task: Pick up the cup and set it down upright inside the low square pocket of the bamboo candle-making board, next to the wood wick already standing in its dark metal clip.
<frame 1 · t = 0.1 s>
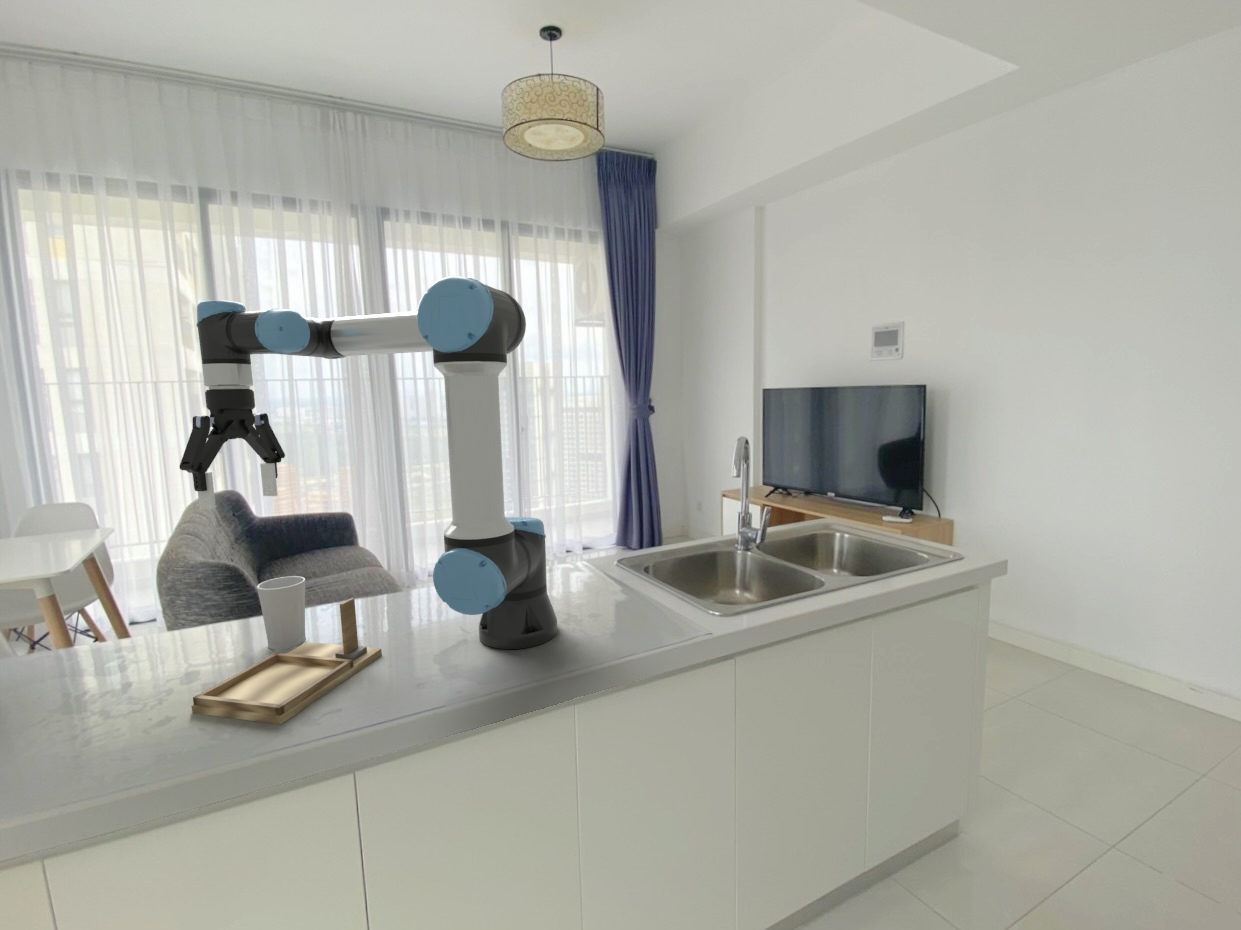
hand: (241, 502, 109), 28 cm above the worktop, fingers open, 13 cm apart
board: (296, 681, 97), on the worktop
cup: (287, 643, 112), on the worktop
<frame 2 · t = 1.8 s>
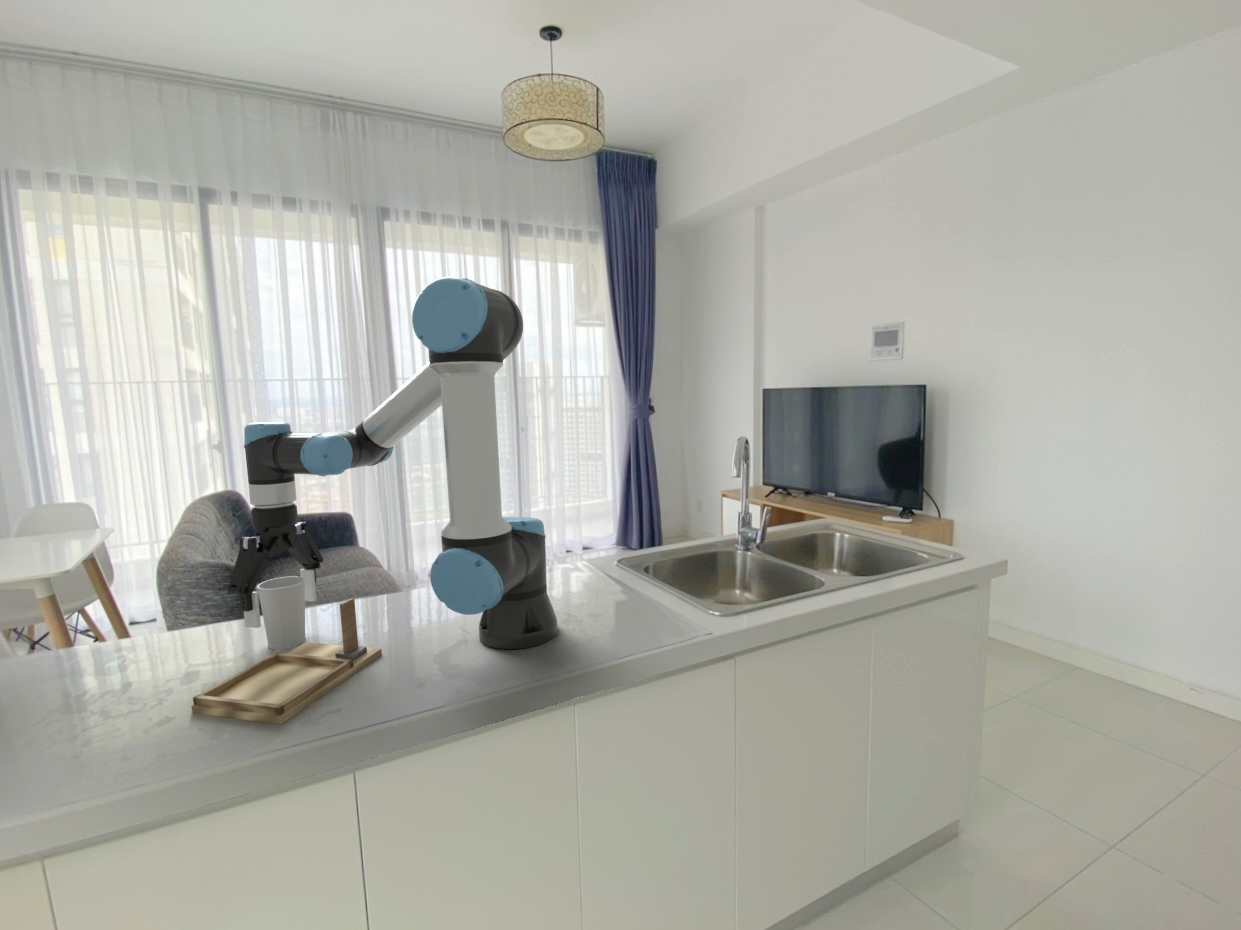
hand: (282, 613, 112), 6 cm above the worktop, fingers open, 13 cm apart
nothing on the worktop moved.
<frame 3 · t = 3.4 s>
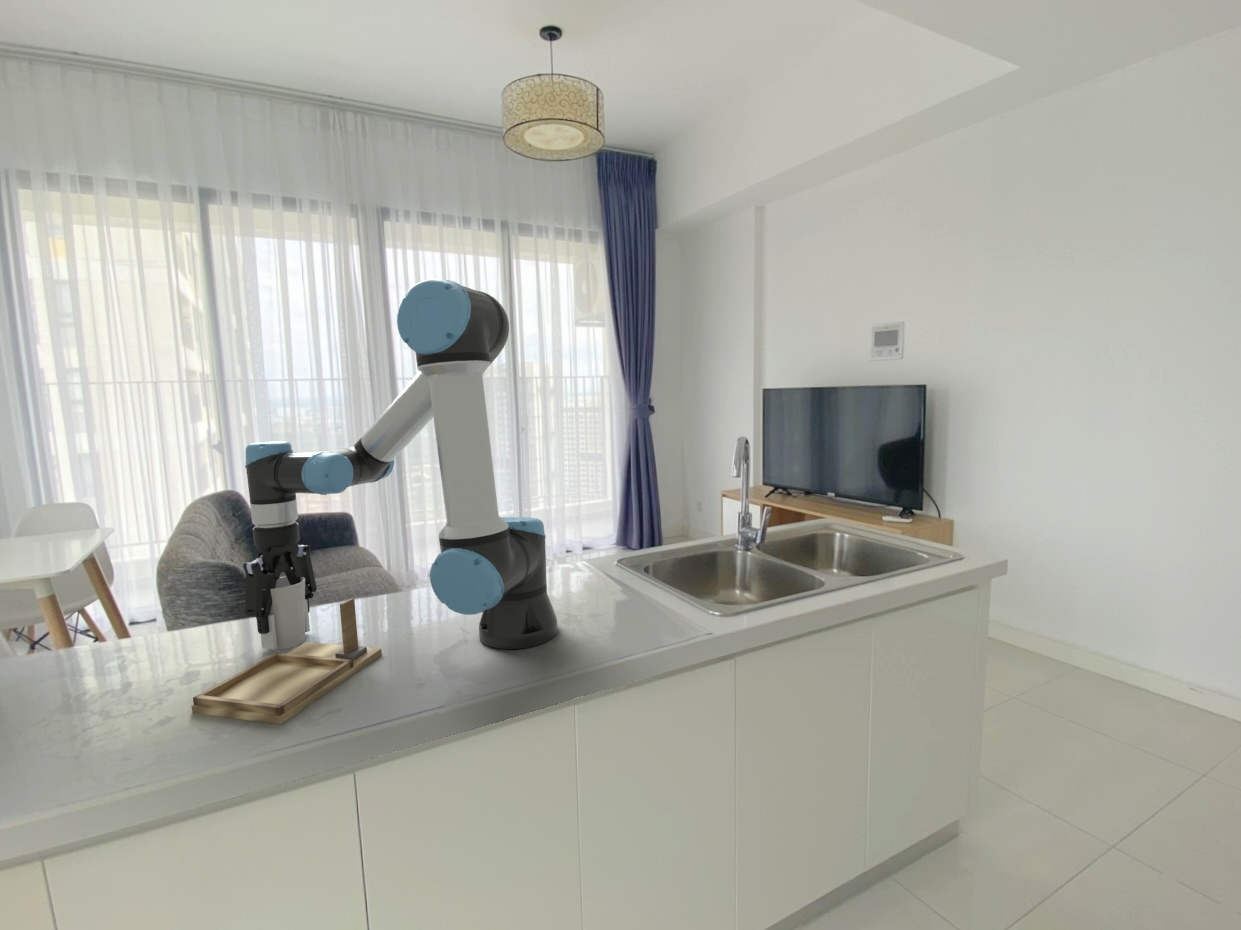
hand: (286, 639, 112), 1 cm above the worktop, fingers closed on cup, 7 cm apart
cup: (287, 643, 112), on the worktop, touching gripper
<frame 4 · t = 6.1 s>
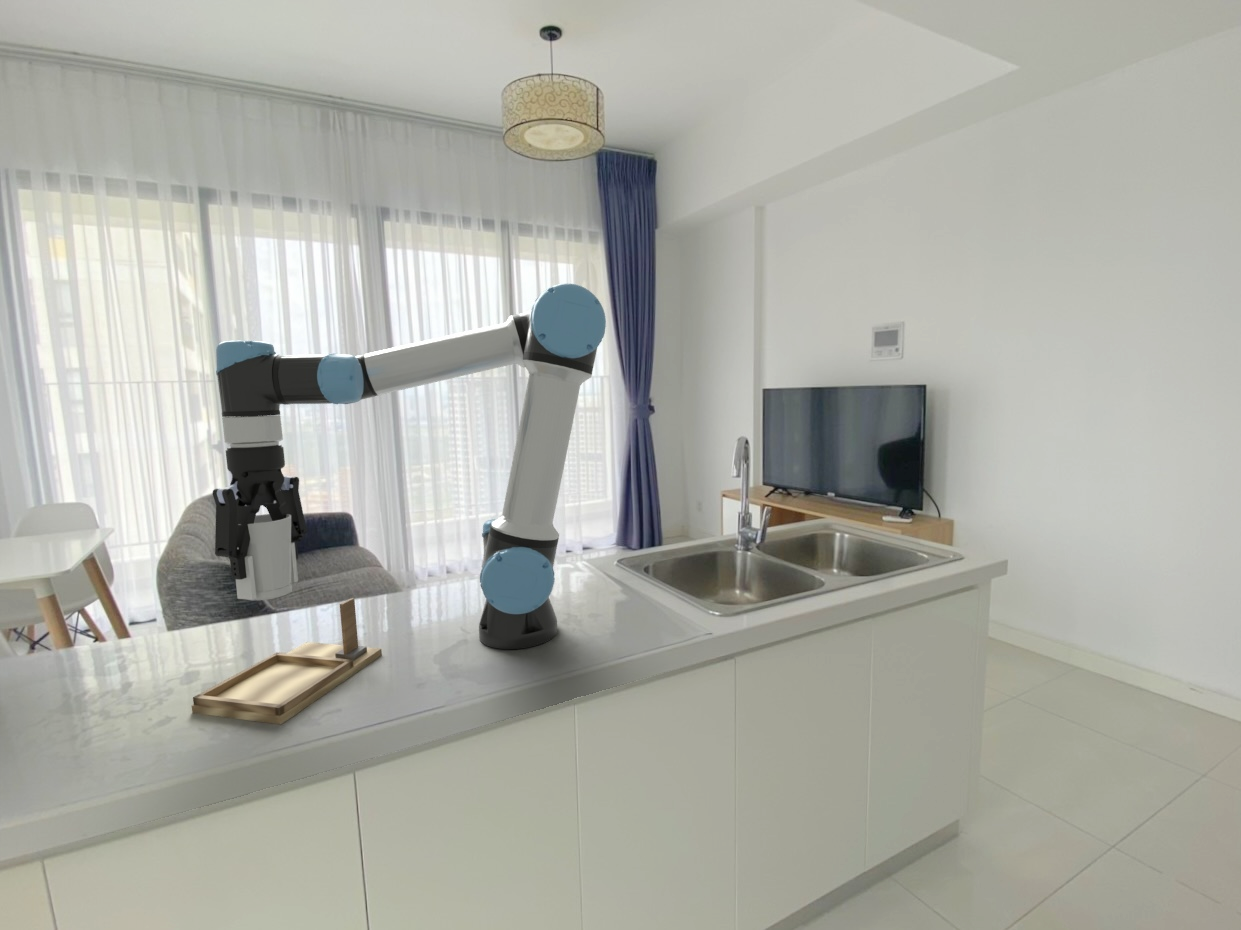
hand: (269, 589, 91), 17 cm above the worktop, fingers closed on cup, 7 cm apart
cup: (269, 594, 91), point 16 cm above the worktop, touching gripper
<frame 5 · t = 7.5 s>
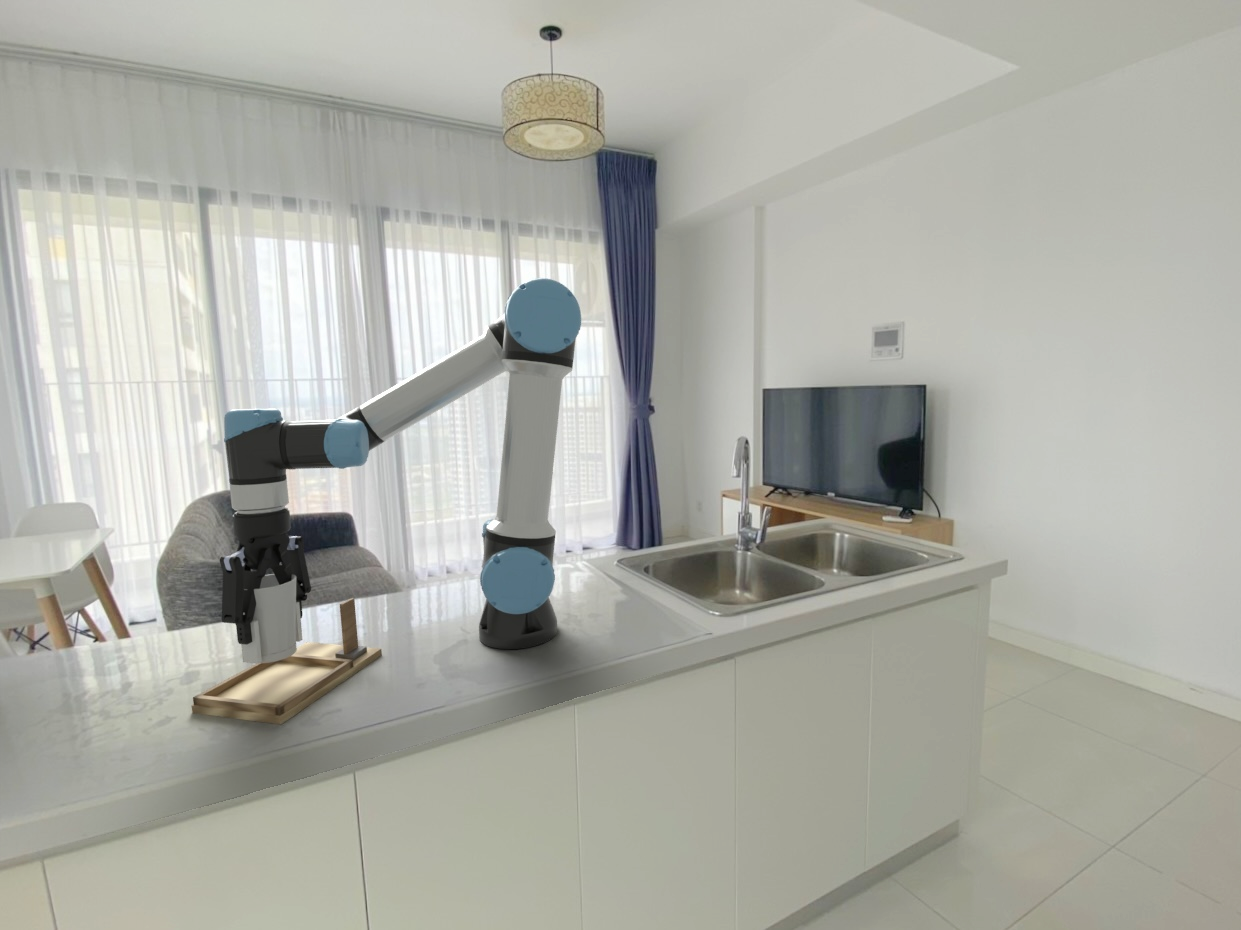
hand: (274, 650, 92), 7 cm above the worktop, fingers closed on cup, 7 cm apart
cup: (274, 655, 92), point 6 cm above the worktop, touching gripper
when the fingers open (4 cm above the worktop, at t = 8.8 s): cup drops 2 cm, resting on board.
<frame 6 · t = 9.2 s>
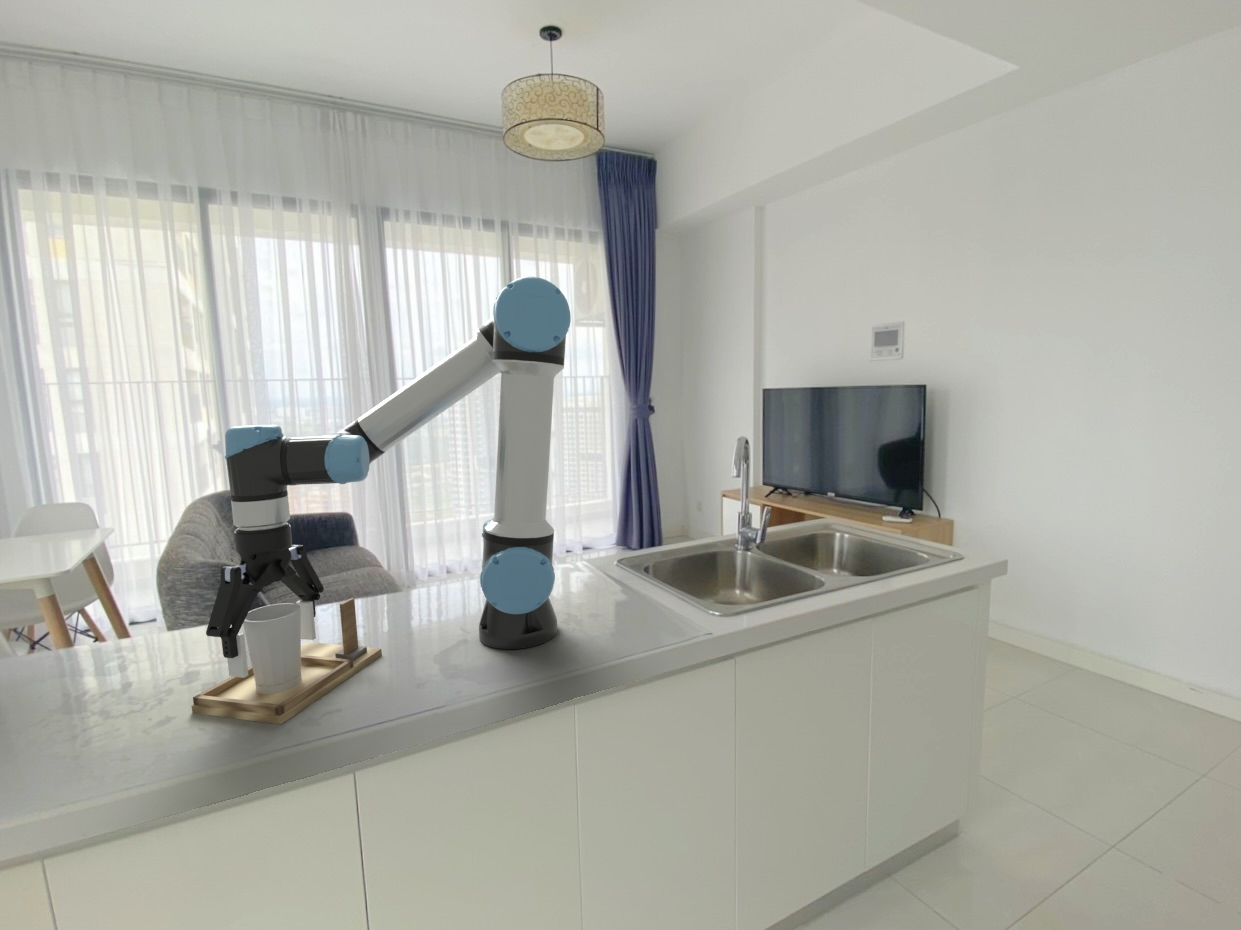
hand: (275, 656, 92), 6 cm above the worktop, fingers open, 13 cm apart
cup: (279, 685, 93), point 1 cm above the worktop, touching board
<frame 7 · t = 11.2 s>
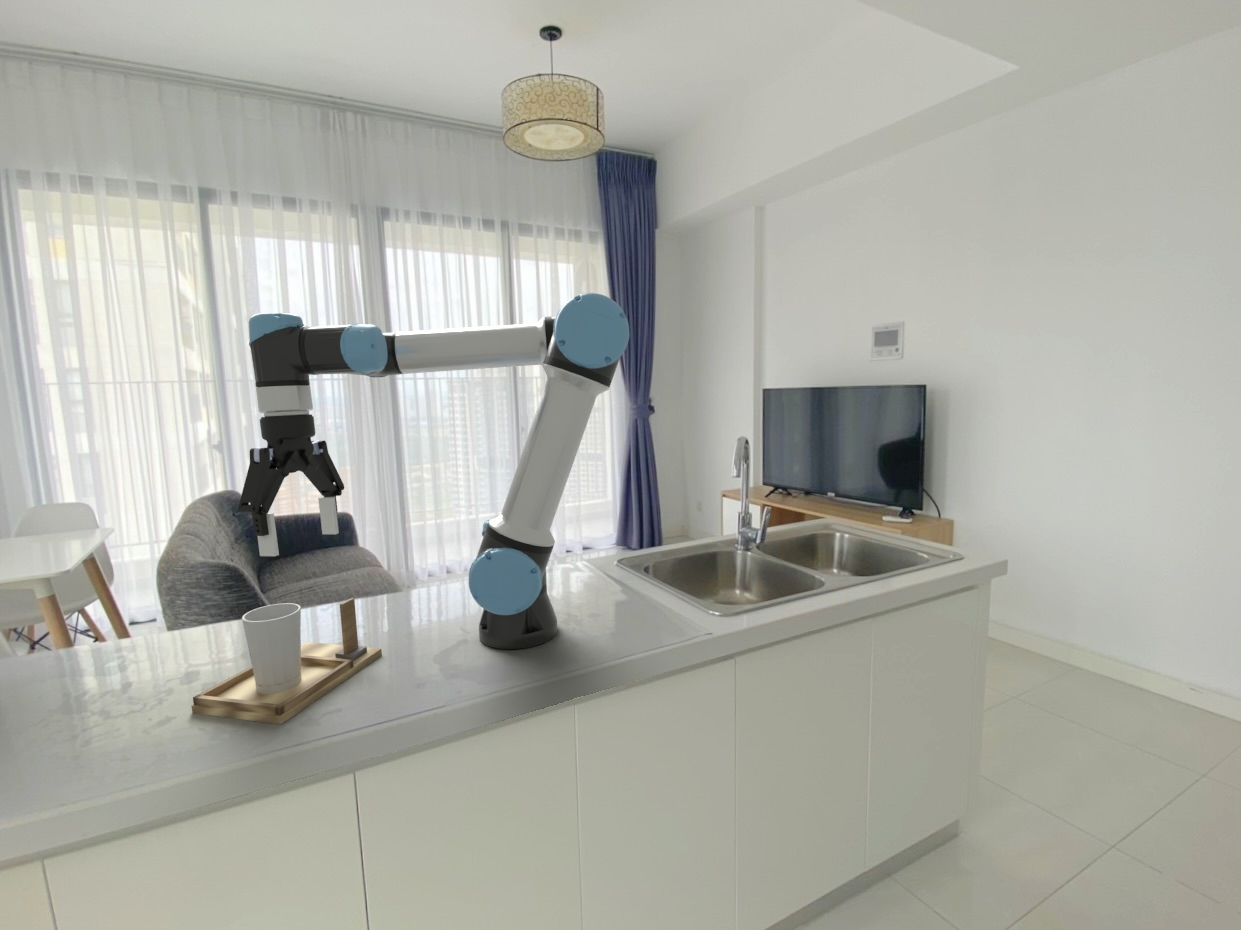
hand: (302, 544, 95), 23 cm above the worktop, fingers open, 13 cm apart
nothing on the worktop moved.
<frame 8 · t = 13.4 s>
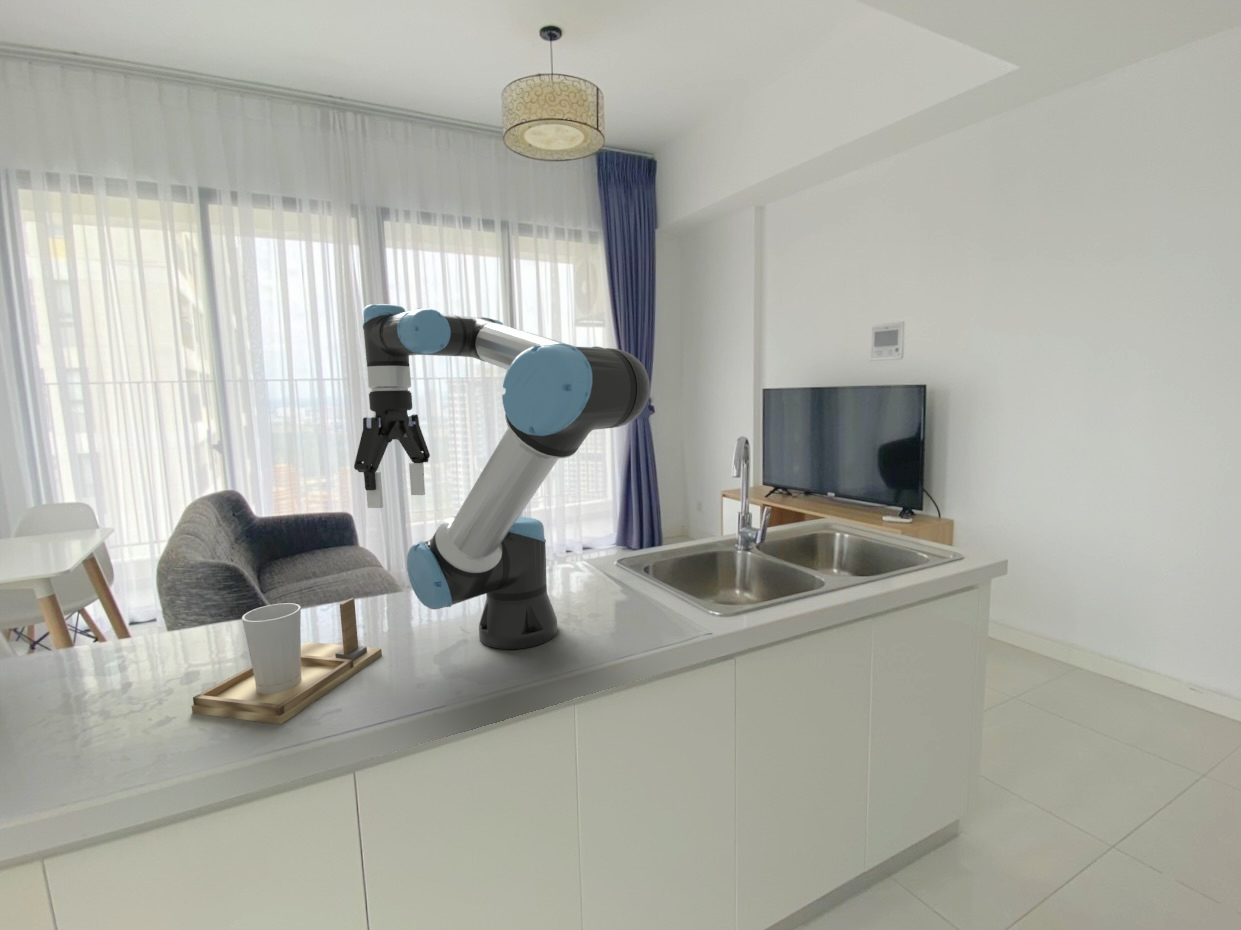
hand: (398, 501, 112), 27 cm above the worktop, fingers open, 13 cm apart
nothing on the worktop moved.
at the end: cup inside the target area on the board (0.1 cm from its centre), point 1.0 cm above the board's base; cup tilted 0°; the gripper is holding nothing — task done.
